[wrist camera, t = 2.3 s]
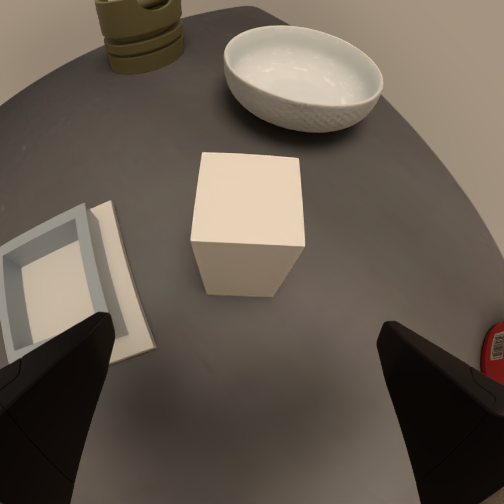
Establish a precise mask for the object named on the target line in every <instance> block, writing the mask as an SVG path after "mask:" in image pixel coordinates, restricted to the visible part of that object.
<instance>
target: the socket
mask: <svg viewBox="0 0 504 504" xmlns="http://www.w3.org/2000/svg"><path fill="white" fill-rule="evenodd" d="M99 311H101V312H108V313H110V315H111V317H112V321H113V325H114V329H115V342H114V346H113V350H112V354H111V358H110V362H109V365H111V364H114V363H117V362H120V361H122V360H125V359H128V358H131V357H134V356H136V355H139V354H142V353H145V352H147V351H150V350H153V349H156V348H157V346H156V343H155V341H154V338H153V335H152V332H151V330H150V327H149V324H148V321H147V319H146V316H145V313H144V310H143V307H142V304H141V301H140V298H139V295H138V292H137V288H136V285H135V282H134V279H133V275H132V272H131V269H130V265H129V262H128V258H127V255H126V251H125V247H124V243H123V240H122V236H121V232H120V228H119V223H118V219H117V215H116V211H115V206H114V204H113V203H112V201H111V200H110V201H108V202H105V203H103V204H101V205H99V206H96V207H94V208H92V209H89V208H88V206H87V205H86V204H85V203H83V204H81V205H79V206H76V207H74V208H72V209H70V210H68V211H66V212H64V213H62V214H60V215H58V216H56V217H54V218H52V219H50V220H48V221H46V222H44V223H42V224H40V225H38V226H36V227H35V228H33V229H31V230H29V231H27V232H25V233H23V234H22V235H20V236H18V237H16V238H15V239H13V240H11V241H9V242H8V243H6V244H4V245H2V246H1V247H0V319H1V326H2V332H3V338H4V343H5V348H6V353H7V357H8V362H9V364H11V363H12V362H14V361H16V360H17V359H19V358H22V356H24V355H25V354H27V353H29V352H30V351H32V350H34V349H35V348H37V347H39V346H40V345H42V344H44V343H45V342H47V341H49V340H50V339H52V338H54V337H55V336H57V335H59V334H60V333H62V332H64V331H65V330H67V329H69V328H71V327H72V326H74V325H76V324H77V323H79V322H81V321H83V320H84V319H86V318H88V317H89V316H91V315H93V314H95V313H96V312H99Z"/></svg>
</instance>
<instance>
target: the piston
mask: <svg viewBox="0 0 504 504" xmlns="http://www.w3.org/2000/svg"><path fill="white" fill-rule="evenodd" d="M95 5H96V10H97V14H98V19H99V23H100V27H101V31H102V34H103V36H104V37H105V38H104V43H105V47H106V50H107V54H108V58H109V62H110V65H111V68H112V70H113V71H114V72H116V73H119V74H125V75H132V74H141V73H146V72H150V71H153V70H157V69H159V68H162V67H164V66H167V65H169V64H171V63H172V62H174V61H175V60H177V59H178V58H179V57H180V56H181V55H182V54H183V52H184V40H183V32H182V31H183V26H182V20H181V18H180V17H181V15H182V11H181V0H116V1H108V0H95Z"/></svg>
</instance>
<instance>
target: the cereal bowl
mask: <svg viewBox="0 0 504 504" xmlns="http://www.w3.org/2000/svg"><path fill="white" fill-rule="evenodd" d="M224 72H225V77H226V80H227V84H228V86H229V89H230V90H231V92H232V94H233V95H234V96H235V98H236V99H237V100H238V101H239V103H240V104H242V105H243V107H245V108H246V109H247V110H249V111H250V112H251V113H252V114H254V115H255V116H257V117H259V118H260V119H263V120H265V121H267V122H268V123H272V124H275V125H277V126H280V127H284V128H286V129H291V130H296V131H303V132H313V133H315V132H317V133H318V132H319V133H320V132H321V133H323V132H331V131H337V130H342V129H345V128H348V127H350V126H352V125H354V124H356V123H358V122H360V121H361V120H363V119H364V118H365V117H366V116H367V115H368V114H369V113H370V112H371V110H372V109H373V108H374V106H375V104H376V103H377V101H378V98H379V97H380V94H381V92H382V89H383V77H382V74H381V72H380V70H379V68H378V67H377V65H376V64H375V63H374V62H373V61H372V60H371V59H370V58H369V57H368V56H367V55H366V54H365V53H363V52H362V51H361V50H359V49H358V48H356V47H354V46H353V45H351V44H350V43H348V42H346V41H344V40H342V39H339V38H337V37H335V36H332V35H329V34H326V33H323V32H320V31H316V30H313V29H308V28H302V27H294V26H266V27H259V28H255V29H251V30H248V31H246V32H243V33H241V34H239V35H237V36H236V37H234V38H233V39H232V40H231V41H230V42H229V43H228V45H227V46H226V48H225V51H224Z"/></svg>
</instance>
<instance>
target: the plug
mask: <svg viewBox="0 0 504 504" xmlns="http://www.w3.org/2000/svg"><path fill="white" fill-rule="evenodd" d="M191 245H192V248H193V251H194V255H195V258H196V261H197V265H198V268H199V271H200V274H201V277H202V281H203V284H204V287H205V290H206V293H207V294H208V295H229V296H253V297H274V295H275V293H276V292H277V290H278V289H279V287H280V286H281V284H282V282H283V281H284V279H285V278H286V276H287V275H288V273H289V271H290V270H291V268H292V267H293V265H294V263H295V262H296V260H297V259H298V257H299V255H300V254H301V252H302V251H303V249H304V247H305V237H304V220H303V205H302V192H301V179H300V168H299V158H291V157H280V156H267V155H253V154H234V153H206V152H202V158H201V164H200V171H199V178H198V185H197V192H196V200H195V207H194V215H193V223H192V232H191Z"/></svg>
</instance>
